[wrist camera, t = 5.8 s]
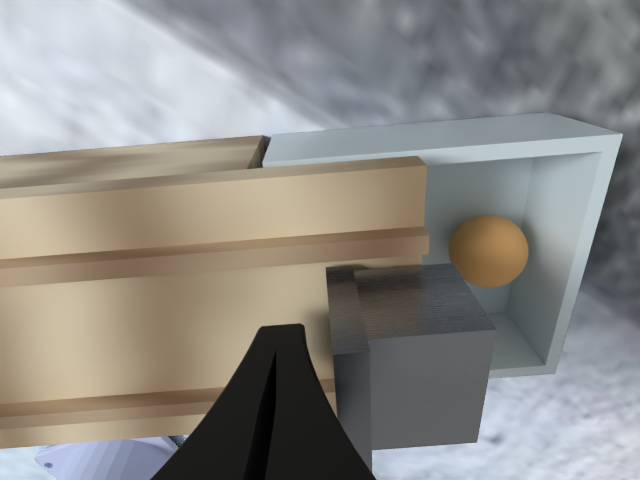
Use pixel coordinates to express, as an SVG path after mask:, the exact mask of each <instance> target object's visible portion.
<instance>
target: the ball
mask: <svg viewBox="0 0 640 480" xmlns="http://www.w3.org/2000/svg"><path fill="white" fill-rule="evenodd" d="M449 257H450V261H451V263H453V264H454V266H455V267H456V269H457V270H458V272H459V273H460V275H461V276H462V278H463V279H464V280H466V281H467V282H469V283H471V284H473V285H476V286H480V287H489V288H491V287H499V286H502V285H505V284H507V283H509V282H511V281H513V280H514V279H515V278H516V277H517V276H518V275H519V274H520V273H521V272H522V271H523V269H524V267H525V265H526V263H527V259H528V244H527V240H526V238H525V236H524V234H523V232H522V231H521V229H520V228H519V227H518V226H517V225H516V224H514V223H513V222H512V221H510V220H508V219H507V218H504V217H501V216H497V215H490V214H486V215H479V216H475V217H472V218H470V219H468V220H466V221H465V222H463V223H462V224H461V225H460V226H459V227H458V228H457V229H456V230H455V232H454V233H453V235H452V238H451V240H450V244H449Z"/></svg>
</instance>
